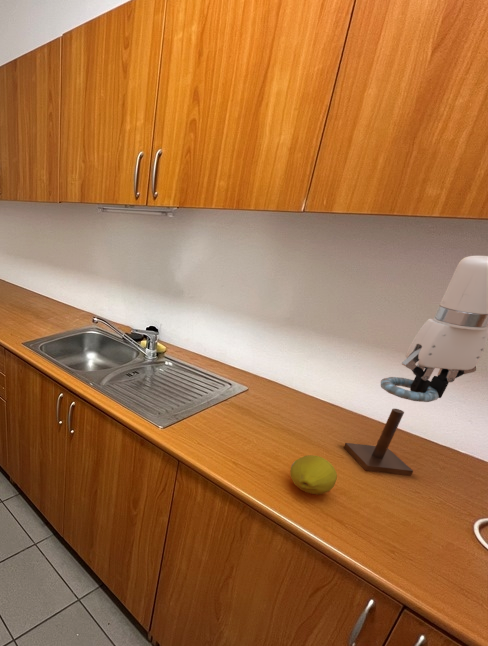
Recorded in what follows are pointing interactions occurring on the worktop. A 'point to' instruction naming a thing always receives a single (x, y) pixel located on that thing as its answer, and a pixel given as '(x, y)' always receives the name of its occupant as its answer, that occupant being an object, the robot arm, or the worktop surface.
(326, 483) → the lemon
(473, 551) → the worktop surface
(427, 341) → the robot arm
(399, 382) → the ring
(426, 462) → the worktop surface
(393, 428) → the peg stand
